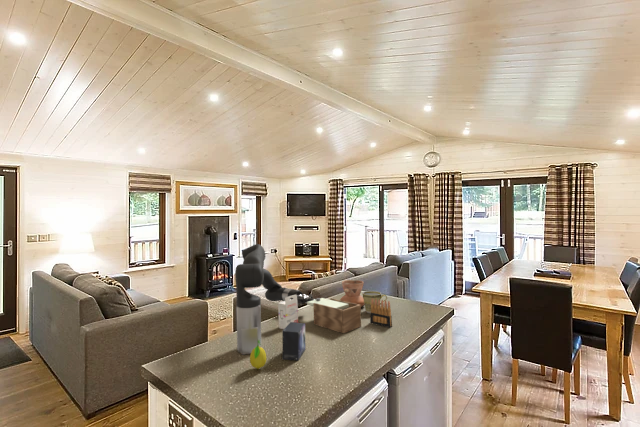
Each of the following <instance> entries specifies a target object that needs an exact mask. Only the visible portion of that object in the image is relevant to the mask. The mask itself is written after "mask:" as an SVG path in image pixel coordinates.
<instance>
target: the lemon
mask: <svg viewBox="0 0 640 427" xmlns="http://www.w3.org/2000/svg"><path fill="white" fill-rule="evenodd" d="M258 343H259V344H260V340H259V341H258ZM260 345H261V347H259V346H258V345H257V347H256V348H254V349H253V350H252V352H251V354H250V356H249V363H250V365H251V367H253V368H255V369H256V370H260V369H261V368H263V367H264V366H265V365H266V364H267V353H266V351H265V349H264V348H263V347H262V343H261V344H260Z"/></svg>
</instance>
